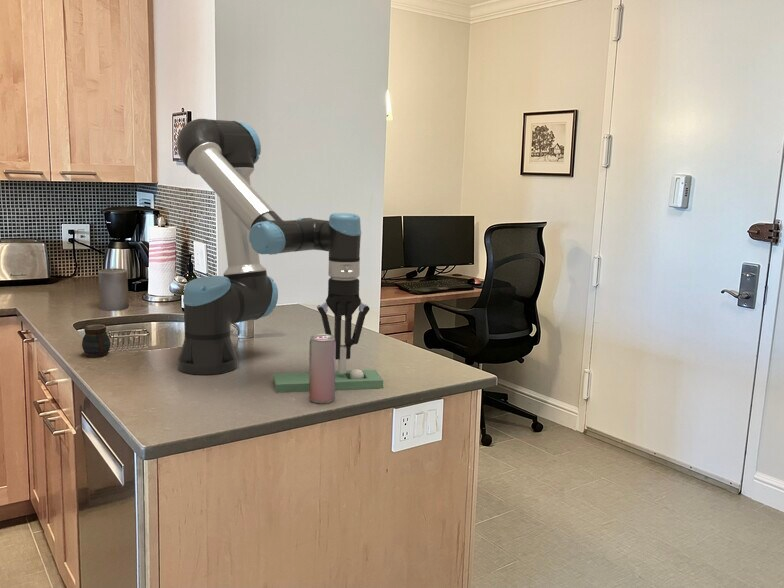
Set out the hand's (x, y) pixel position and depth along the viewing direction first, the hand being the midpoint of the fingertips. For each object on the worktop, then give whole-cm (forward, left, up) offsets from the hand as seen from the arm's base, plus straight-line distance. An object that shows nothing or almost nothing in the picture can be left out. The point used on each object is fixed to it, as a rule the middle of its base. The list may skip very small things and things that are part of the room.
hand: (342, 371), depth 174 cm
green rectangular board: (-4, 0, -3) cm, 5 cm away
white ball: (+4, +1, -2) cm, 4 cm away
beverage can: (-7, -11, -3) cm, 13 cm away
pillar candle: (-67, +97, -4) cm, 118 cm away
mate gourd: (-63, +34, -4) cm, 71 cm away
